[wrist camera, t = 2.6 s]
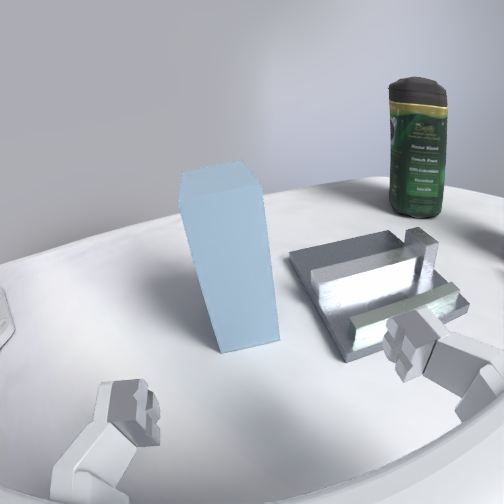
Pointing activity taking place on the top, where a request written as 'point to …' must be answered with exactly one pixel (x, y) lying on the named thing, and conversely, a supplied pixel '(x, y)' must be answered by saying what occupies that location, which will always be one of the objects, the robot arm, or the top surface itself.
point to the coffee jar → (417, 146)
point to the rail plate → (374, 286)
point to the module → (231, 252)
